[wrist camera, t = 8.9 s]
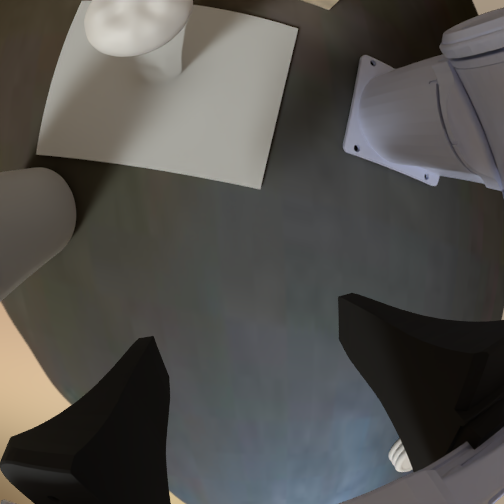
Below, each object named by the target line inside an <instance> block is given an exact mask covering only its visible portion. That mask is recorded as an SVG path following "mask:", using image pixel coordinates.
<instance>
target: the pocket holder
mask: <svg viewBox="0 0 504 504" xmlns="http://www.w3.org/2000/svg"><path fill="white" fill-rule="evenodd" d="M302 1H305V2H308V3H311V4H313V5H316V6H319V7H322V8H324V9H327V10H330V9H331V8H332V7H333V6H334V5H335V4H336V3H337V2H338V1H339V0H302Z"/></svg>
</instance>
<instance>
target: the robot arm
mask: <svg viewBox="0 0 504 504" xmlns="http://www.w3.org/2000/svg"><path fill="white" fill-rule="evenodd" d="M439 48H440V50H441V52H442V53H443V54H442V55H439V56H435V57H432V58H429V59H425V60H422V61H419V62H416V63H413V64H410V65H407V66H404V67H401V68H398V69H394V68H393V67H391V66H389V65H387V64H385V63H383V62H381V61H379V60H377V59H375V58H373V57H371V56H368V55H363V56H361V57H360V60H359V66H358V71H357V77H356V82H355V88H354V93H353V98H352V103H351V108H350V113H349V118H348V123H347V128H346V132H345V137H344V141H343V149H344V151H345V152H347V153H349V154H352V155H355V156H358V157H361V158H363V159H366V160H369V161H372V162H374V163H377V164H380V165H382V166H385V167H388V168H390V169H393V170H395V171H398V172H400V173H403V174H405V175H407V176H410V177H412V178H415V179H417V180H419V181H422V182H424V183H426V184H428V185H431V186H436V185H437V184H438V180H439V176H445V177H451V178H457V179H462V180H468V181H473V182H478V183H483V184H485V186H486V187H487V188H491V189H495V190H500V191H502V194H503V197H504V8H501V9H497V10H494V11H490V12H487V13H484V14H482V15H479V16H476V17H474V18H471V19H469V20H466V21H464V22H462V23H460V24H457V25H455V26H454V27H452V28H450V29H448V30H447V31H445V32H444V33H443V37H442V43H441V44H440V46H439ZM370 61H371V62H372V63H373V65H374V66H372V65H371V64H370ZM355 145H356V146H357V147H358V150H357V151H355V150H354V146H355ZM425 174H426V178H425ZM338 307H339V340H340V342H341V344H342V346H343V348H344V350H345V352H346V354H347V355H348V357H349V359H350V360H351V362H352V363H353V364H354V366H355V367H356V368H357V370H358V371H359V372H360V374H361V375H362V376H363V378H364V379H365V380H366V382H367V383H368V384H369V386H370V387H371V388H372V390H373V391H374V393H375V394H376V395H377V397H378V398H379V400H380V401H381V403H382V405H383V407H384V408H385V410H386V412H387V414H388V416H389V418H390V419H391V421H392V423H393V425H394V427H395V429H396V431H397V433H398V435H399V437H400V440H401V442H402V444H403V446H404V449H405V451H406V453H407V456H408V458H409V461H410V463H411V466H412V469H413V471H414V473H411V474H409V475H406V476H404V477H401V478H399V479H397V480H395V481H393V482H391V483H389V484H386V485H384V486H382V487H380V488H377V489H375V490H373V491H370V492H368V493H366V494H363V495H361V496H358V497H355V498H353V499H350V500H347V501H345V502H342V503H339V504H494V503H495V502H496V501H497V500H499V499H500V498H501V497H502V496H503V495H504V320H500V321H489V322H466V321H454V320H445V319H438V318H433V317H428V316H423V315H419V314H415V313H412V312H408V311H405V310H401V309H398V308H395V307H392V306H389V305H386V304H384V303H381V302H378V301H375V300H373V299H370V298H367V297H364V296H361V295H358V294H354V293H350V294H347V295H343V296H339V297H338ZM169 404H170V384H169V375H168V373H167V370H166V368H165V365H164V363H163V360H162V358H161V355H160V352H159V350H158V347H157V344H156V342H155V339H154V336H151V337H144V338H139V339H138V340H137V341H136V342H135V343H134V344H133V345H132V346H131V347H130V348H129V349H128V351H127V352H126V353H125V354H124V355H123V356H122V358H121V359H120V360H119V361H118V362H117V363H116V364H115V366H114V367H113V368H112V369H111V370H110V371H109V372H108V373H107V374H106V375H105V376H104V377H103V378H102V379H101V380H100V381H99V383H98V384H97V385H95V386H94V387H93V388H92V389H91V390H90V391H89V392H88V393H87V394H85V395H84V396H83V397H82V398H81V399H79V400H78V401H77V402H76V403H74V404H73V405H71V406H70V407H68V408H67V409H66V410H64V411H63V412H61V413H60V414H58V415H57V416H55V417H53V418H52V419H50V420H48V421H46V422H44V423H42V424H41V425H39V426H37V427H34V428H32V429H30V430H28V431H25V432H23V433H20V434H18V435H15V436H12V437H11V438H10V440H9V442H8V444H7V447H6V449H5V452H4V454H3V456H2V459H1V462H0V469H1V471H2V473H3V474H4V476H5V477H6V478H7V479H8V480H9V482H11V484H13V485H14V486H15V487H16V488H17V489H18V490H19V491H20V492H22V493H23V494H24V495H25V496H26V497H27V498H29V499H30V500H31V501H32V502H33V503H35V504H171V503H170V496H169V488H168V479H167V466H166V437H167V426H168V415H169ZM1 504H16V503H13V502H10V501H7V500H2V502H1Z"/></svg>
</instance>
